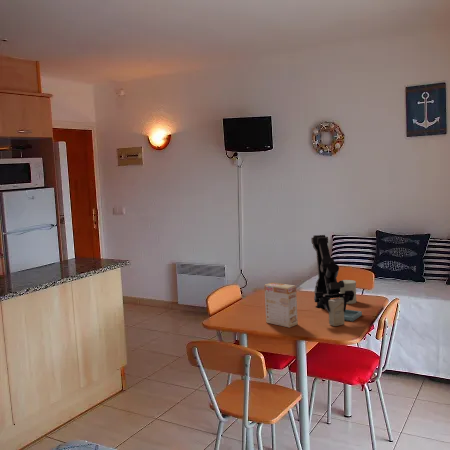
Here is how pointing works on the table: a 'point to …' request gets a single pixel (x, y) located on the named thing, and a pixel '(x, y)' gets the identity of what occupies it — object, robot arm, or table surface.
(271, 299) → the coffeecake box
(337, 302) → the skincare box
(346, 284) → the can
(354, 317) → the tray
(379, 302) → the table surface
